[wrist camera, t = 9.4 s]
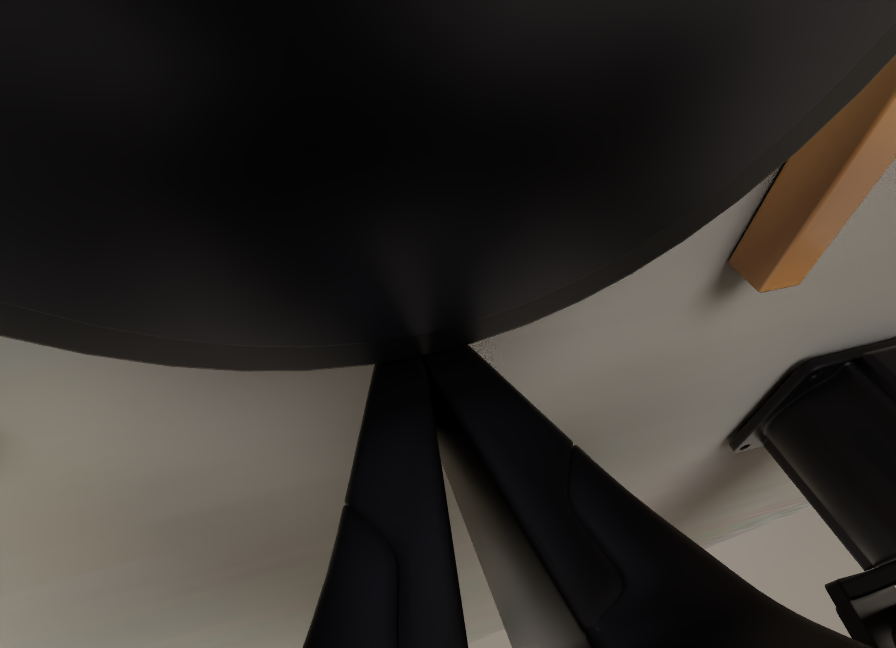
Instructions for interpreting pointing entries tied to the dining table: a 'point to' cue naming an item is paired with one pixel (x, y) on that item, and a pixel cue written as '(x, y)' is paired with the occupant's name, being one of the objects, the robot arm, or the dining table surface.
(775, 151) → the pan
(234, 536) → the dining table surface
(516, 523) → the robot arm
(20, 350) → the dining table surface
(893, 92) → the pan rest
